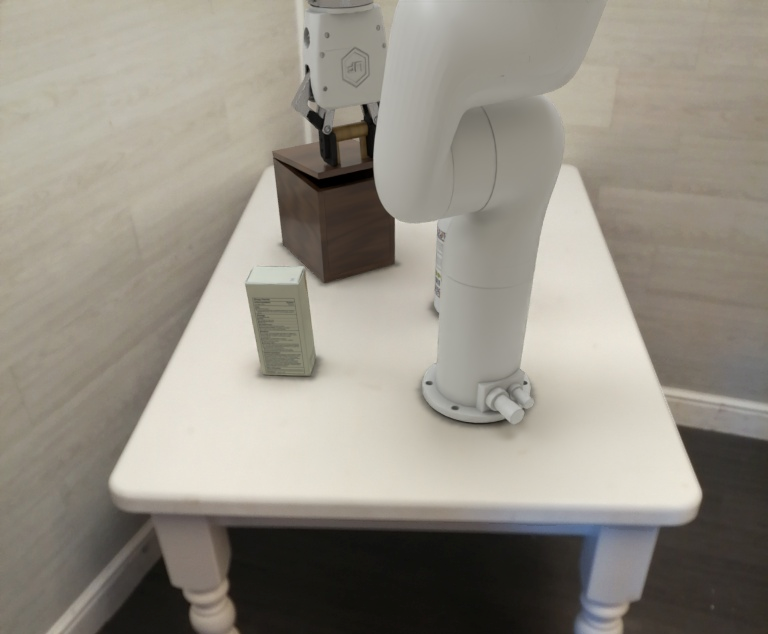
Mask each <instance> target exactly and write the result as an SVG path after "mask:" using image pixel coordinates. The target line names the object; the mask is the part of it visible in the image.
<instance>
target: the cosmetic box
mask: <svg viewBox="0 0 768 634" xmlns="http://www.w3.org/2000/svg"><path fill="white" fill-rule="evenodd" d="M244 287H245V292H246V297H247V303H248V307H249V312H250V318H251V323H252V328H253V334H254V339H255V345H256V350H257V355H258V360H259V365H260V371H261V374H262V375H264V376H265V375H266V376H267V375H268V376H307V377H309V376H311V374H312V372H313V369H314V366H315V363H316V358H317V354H316V346H315V339H314V331H313V322H312V314H311V306H310V296H309V290H308V282H307V274H306V266H305V265H304V266H301V265H299V266H298V265H253V266H252V268H251V270H250V272H249V273H248V275H247V277H246V279H245V280H244Z"/></svg>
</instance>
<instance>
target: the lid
mask: <svg viewBox="0 0 768 634" xmlns="http://www.w3.org/2000/svg"><path fill="white" fill-rule="evenodd" d="M332 132H333V133H335V134H336V141H337V156H338V165H337V166H335V167H332V166H330V165H329V164H327V163H326V162H324V160H323V158H322V157H321V155H320V145H319V141H315V142H310V143H306V144H300V145H295V146H290V147H286V148H280V149H275V150H272V151H271V153H272V154H271V155H272V158H273V157H274V158H276V159H278V160H280V161H282V162H284V163H287V164H289V165H291V166H293V167H295V168H297V169H299V170H301V171H303V172H305V173H307V174H309V175H311V176H313V177H315V178H317V179H323V178H327V177H332V176H337V175H341V174H346V173H350V172H355V171H359V170H364V169H368V168H373V167H374V166H373V158H370V157H369V156H367V144H366V136H367V135H368V125H367V123H366V122H365V121H361V120H360V121H357V122H352V123H346V124H340V125H335V126H332ZM357 139H359V140H357Z"/></svg>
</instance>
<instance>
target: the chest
mask: <svg viewBox="0 0 768 634" xmlns="http://www.w3.org/2000/svg"><path fill="white" fill-rule="evenodd" d="M272 160H273V161H272V163H273V170H274V171H273V172H274V179H275V189H276V197H277V206H278V215H279V223H280V233H281V242H282V244H283V246H285V248H286V249H287V250H289V252H291V253H292V254H293V255H294V257H296V258H297V259H298V260H299V261H300V262H301V263H302V264H303V265H304V266H305V267H306V268H307V269H308V270H309V271H311V272H312V273H313V274H314V275H315V276H316V277H317V278H318V279H319V280H320V281H321V282H322V283H323V284H328V283H331V282H334V281H338V280H342V279H345V278H349V277H352V276H357V275H360V274H364V273H367V272H370V271H374V270H378V269H382V268H385V267H389V266H392V265H395V264H396V219H395V218H394V217H393V216H391V215H390V214H389V213H388V212H387V211H386V209H385V208H384V206H383V205H382V203H381V201H380V199H379V196H378V193H377V189H376V185H375V179H374V167H373V168H368V169H364V170H359V171H355V172H350V173H346V174H341V175H337V176H332V177H327V178H323V179H317V178H315V177H313V176H311V175H309V174H307V173H305V172H303V171H301V170H299V169H297V168H295V167H293V166H291V165H289V164H287V163H284V162H282V161H280V160H278V159H276V158H274V157H273V156H272Z"/></svg>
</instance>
